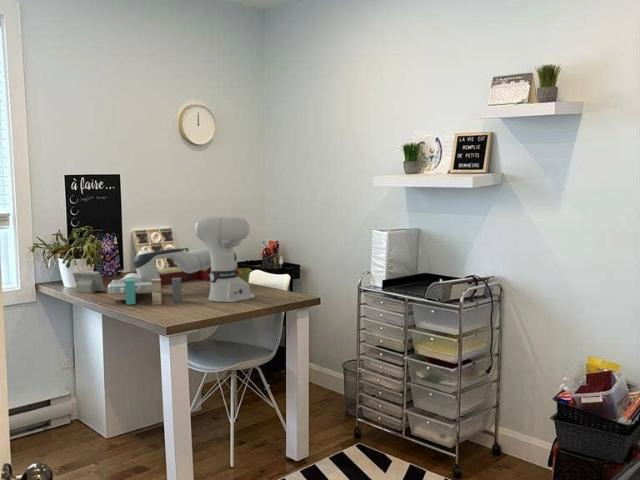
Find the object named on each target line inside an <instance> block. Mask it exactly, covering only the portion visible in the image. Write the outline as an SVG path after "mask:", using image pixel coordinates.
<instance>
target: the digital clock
mask: <svg viewBox="0 0 640 480" xmlns="http://www.w3.org/2000/svg"><path fill="white" fill-rule="evenodd" d="M72 275H73V278H74V282H75V286H76V288H75V289H76V290H75V291H76V293H80V294H94V293H97V291H98V292H104V291H106V290H105V285H104V282H103V278H102V274H101V273H100V272H99V271H90V270H89V271H87V270H86V271H85V270H73V272H72Z"/></svg>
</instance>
